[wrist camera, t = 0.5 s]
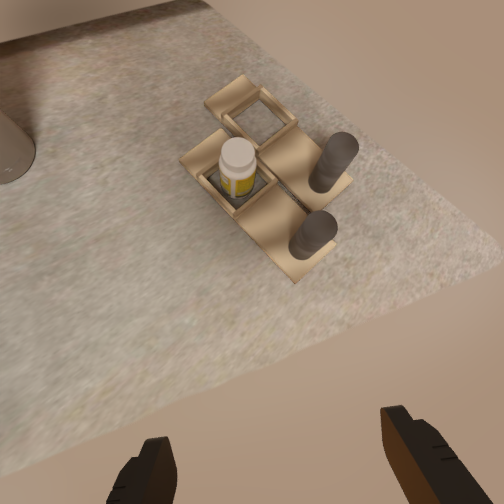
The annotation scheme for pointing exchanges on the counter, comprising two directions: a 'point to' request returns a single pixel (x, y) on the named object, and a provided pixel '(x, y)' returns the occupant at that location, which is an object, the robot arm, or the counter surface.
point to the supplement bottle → (237, 167)
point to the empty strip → (289, 146)
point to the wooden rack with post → (268, 214)
